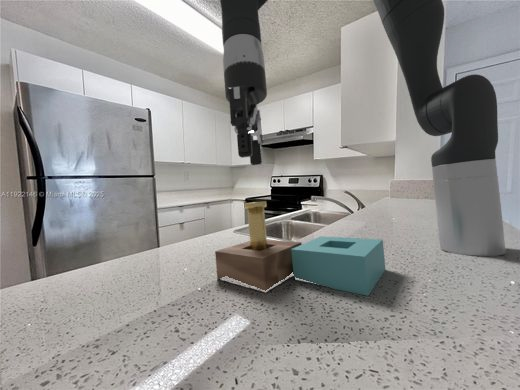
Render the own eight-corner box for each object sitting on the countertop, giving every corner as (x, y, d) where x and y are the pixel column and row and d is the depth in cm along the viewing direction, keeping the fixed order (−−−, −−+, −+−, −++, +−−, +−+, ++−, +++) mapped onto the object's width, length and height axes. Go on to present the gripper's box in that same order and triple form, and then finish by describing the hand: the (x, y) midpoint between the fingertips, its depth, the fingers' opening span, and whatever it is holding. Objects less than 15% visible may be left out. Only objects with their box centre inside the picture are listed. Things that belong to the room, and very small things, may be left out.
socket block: (323, 261, 43) (320, 236, 43) (385, 269, 36) (382, 239, 36) (294, 280, 34) (291, 249, 35) (368, 295, 27) (364, 256, 27)
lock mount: (258, 262, 46) (256, 238, 46) (303, 269, 39) (301, 242, 39) (217, 279, 38) (215, 251, 38) (265, 293, 30) (262, 258, 31)
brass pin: (260, 269, 41) (254, 202, 41) (276, 273, 38) (270, 201, 39) (245, 276, 38) (239, 203, 38) (262, 280, 35) (256, 202, 36)
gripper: (257, 40, 31) (266, 150, 31) (270, 88, 45) (276, 164, 45) (209, 51, 33) (217, 156, 32) (236, 94, 47) (242, 168, 46)
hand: (251, 161), depth 39 cm, fingers open, 8 cm apart
